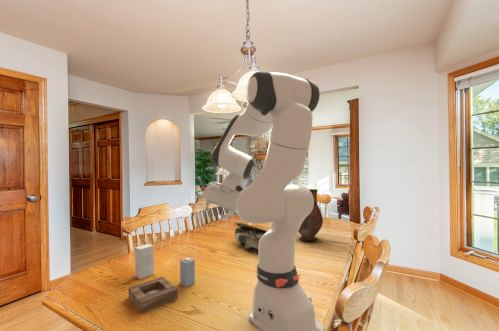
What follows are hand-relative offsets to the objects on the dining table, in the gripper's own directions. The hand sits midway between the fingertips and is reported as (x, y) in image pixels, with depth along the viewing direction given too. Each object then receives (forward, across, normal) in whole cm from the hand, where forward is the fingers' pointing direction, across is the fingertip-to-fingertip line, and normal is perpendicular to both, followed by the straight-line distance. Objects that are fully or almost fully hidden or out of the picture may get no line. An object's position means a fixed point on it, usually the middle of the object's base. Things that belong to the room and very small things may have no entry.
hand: (214, 215), depth 103 cm
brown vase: (-19, +28, +60) cm, 69 cm away
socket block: (+35, -2, -6) cm, 36 cm away
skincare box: (+33, -18, +5) cm, 38 cm away
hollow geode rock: (-1, +6, +44) cm, 44 cm away
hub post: (+27, +2, +5) cm, 27 cm away
